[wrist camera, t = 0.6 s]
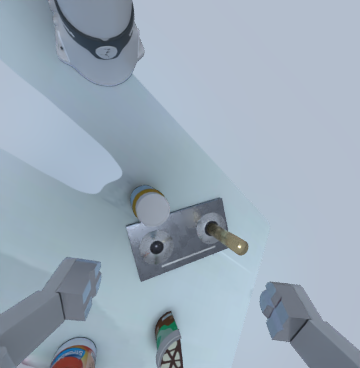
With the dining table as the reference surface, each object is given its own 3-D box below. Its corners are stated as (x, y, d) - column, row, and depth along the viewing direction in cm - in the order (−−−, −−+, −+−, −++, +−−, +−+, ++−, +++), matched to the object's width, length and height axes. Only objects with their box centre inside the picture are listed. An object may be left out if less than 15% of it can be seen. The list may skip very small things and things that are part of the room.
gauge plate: (126, 225, 48) (128, 250, 33) (219, 197, 55) (255, 207, 40) (140, 279, 50) (148, 325, 35) (228, 245, 57) (266, 271, 42)
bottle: (162, 192, 50) (178, 200, 36) (150, 216, 49) (162, 235, 35) (137, 180, 48) (145, 184, 33) (125, 205, 47) (127, 220, 33)
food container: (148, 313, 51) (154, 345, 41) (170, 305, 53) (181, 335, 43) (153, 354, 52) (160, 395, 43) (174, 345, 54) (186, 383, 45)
